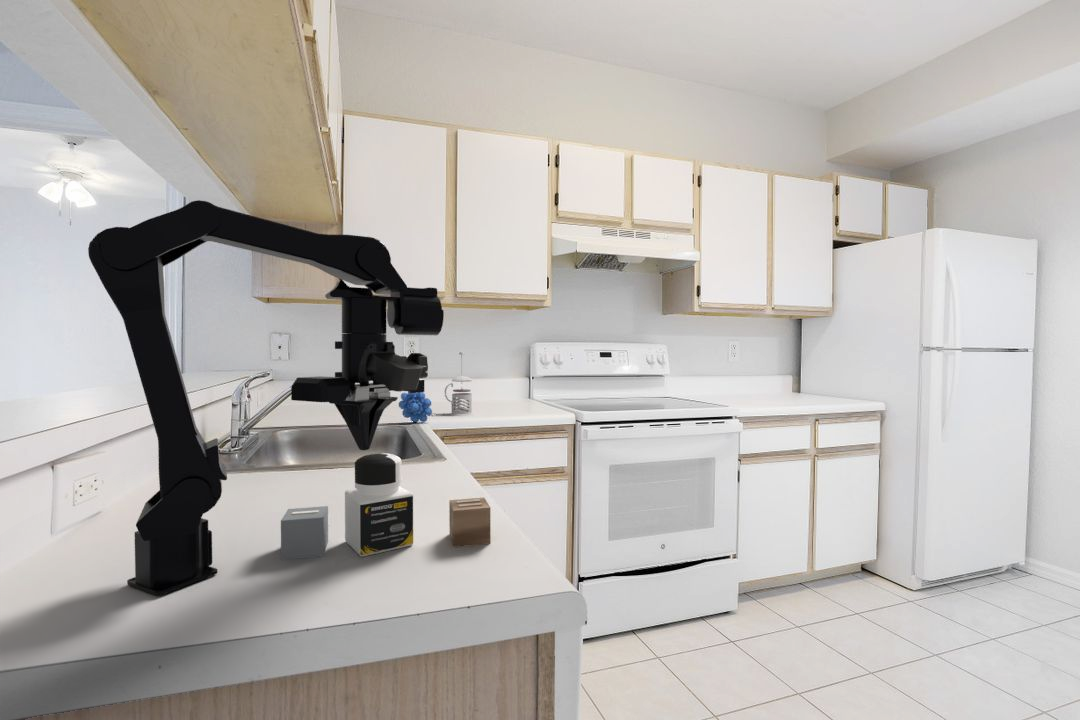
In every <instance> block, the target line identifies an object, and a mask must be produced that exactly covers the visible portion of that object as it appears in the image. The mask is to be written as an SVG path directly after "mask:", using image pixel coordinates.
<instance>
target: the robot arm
mask: <svg viewBox="0 0 1080 720" xmlns="http://www.w3.org/2000/svg"><path fill="white" fill-rule="evenodd" d="M207 242H213V243H217V244H222V245H226V246H228V247H229V246H231V247H235V248H238V249H242V250H247V251H251V252H255V253H259V254H263V255H268V256H272V257H275V258H281V259H283V260H289V261H292V262H297V263H302V264H306V265H310V266H312V267H314V268H317V269H319V270H321V271H322V272H325V273H327V274H328V275H330V276H332V277H334V278H337V279H339V281H337V282H336V284H335V285H334V287H333V288H332V289H331V290H329V292H327V293H325V295H324V296H325V298H326V299H327V300H339V301H341V341H337V340H336V341H335V340H334V349H335V350H341V371H336V372H334V376H320V375H318V376H305V377H303V376H302V377H301V376H299V377H296V379H295V380H294V381H293V383H292V385H291V387H290V389H291V393H290V394H291V396H290V397H291V401H299V402H311V403H329V404H332V405H334V406H335V407H336V409H337V411H338V412H339V414H340V415H341V417H342V418H343V420H344V422H345V424H346V426H347V428H348V430H349V431H350V433H351V435H352V438H353V440H354V441H355V444H356V445H357V448H358V449H359V450H360V451H368V450H370V448H371V445H372V443H373V439H374V436H375V434H376V430H377V428H378V424H379V423H380V419H381V417H382V416H383V413H384V411H385V409H387V407H389V406H390V405H391V404H392V403H393V402H397V400H398V398H399V397H397V396H391V391H392V392H400V393H401V392H408V391H409V393H419V392H423V393H425V379H426V378H427V377H428V376H429V374H428V371H429V365H428V356H427V355H425V354H423V353H421V352H411V353H410V354H409V355H408V356H405V355H403V356H402V355H401V356H400V355H399V354H396V349H395V348H396V347H395V344H394V342H393V341H387V324H388V327H389V328H392V329H394V332H395V334H397V335H399V336H401V335H403V336H404V335H405V336H438V335H439V334H440V333H441V331H442V329H443V325H444V313H445V312H444V309H443V307H442V306H443V305H442V302H441V299H440V298H439V296H438V288H436V287H424V288H421V287H408V286H407V284H406V283H405V281H404V280H403V278H402V277H401V275H400V274H399V272H398V271H397V270H396V268H395V267H394V265H393V263H392V257H391V253H390V251H389V249H388V248H387V246H386V245H385V243H384V242H382V241H381V240H380V239H377V238H375V237H371V236H363V235H362V236H361V235H355V234H330V233H329V234H327V233H317V232H314V231H310V230H306V229H303V228H298V227H295V226H292V225H289V224H284V223H280V222H276V221H273V220H269V219H265V218H262V217H258V216H254V215H251V214H246V213H243V212H240V211H235V210H232V209H229V208H224V207H221V206H218V205H215V204H213V203H212V202H209V201H206V200H200V199H199V200H193V201H189V202H188V203H186V204H185V205H184V206H181V207H179V208H177V209H175V210H172V211H169V212H166V213H163V214H161V215H157V216H154V217H151V218H148V219H146V220H144V221H142V222H139V223H137V224H136V225H133V226H131V227H127V226H126V227H124V226H115V227H109V228H105V229H103V230H102V231H99V232H98V233H97V234H96V235H95V236H93V238H92V240H91V241H90V242H89V244H88V248H87V251H88V258H89V260H90V264H91V265H92V266H93V268H94V270H95V272H96V274H97V276H98V277H99V280H100V282H101V284H102V286H103V287H104V289H105V291H106V293H107V294H108V296H109V297H110V300H112V302H113V304H114V306H115V308H116V309H117V311H118V313H119V314H120V316H121V318H122V320H123V323H124V327H125V331H126V334H127V336H128V337H127V338H128V341H129V343H130V348H131V351H132V355H133V357H134V361H135V365H136V369H137V372H138V375H139V379H140V383H141V386H142V388H143V392H144V393H143V394H144V396H145V400H146V403H147V406H148V410H149V413H150V417H151V421H152V424H153V426H154V431H155V434H156V436H157V445H158V447H157V448H158V480H159V482H158V483H159V490H158V491H156V493H155V494H153V495H152V496H151V497H150V498H149V499H148V500H147V501H146V502H145V503H144V506H143V507H142V511H141V513H140V515H139V516H138V520H137V521H136V524H135V527H136V528H137V531H134V573H135V574H134V575H135V577H131V578H128V580H126V583H127V586H130V587H132V588H136V589H139V590H140V591H144V592H146V593H149V594H152V595H155V596H162V595H166V594H169V593H171V592H174V591H176V590H179V589H181V588H183V587H186V586H189V585H192V584H194V583H197V582H199V581H201V580H204V579H206V578H210V577H212V576H214V575H217V574H218V568H216V567H213V566H211V565H213V531H212V530H210V529H209V520H208V519H206V518H203V515H204V514H207V513H208V512H209V511H210V510H212V509H213V508H215V506H217V504H218V502H219V501H220V498H222V493H223V486H222V485H223V484H222V483H223V482H222V481H227V480H228V476H227V475H228V473H227V466H226V465H225V464H224V463H223V462H222V460H221V456H220V453H219V452H220V451H219V450H220V449H219V439H218V438H213V439H210V440H209V441H207V442H206V441H205V439H204V438H203V436H202V434H201V432H200V431H199V429H198V427H197V425H196V421H195V417H194V414H193V411H192V406H191V403H190V399H189V396H188V393H187V388H186V385H185V382H184V379H183V375H182V372H181V367H180V364H179V360H178V356H177V353H176V349H175V346H174V343H173V340H172V334H171V332H170V328H169V324H168V320H167V317H166V311H165V309H166V308H165V281H164V280H165V279H164V267H166V266H167V265H169V264H171V263H173V262H175V261H177V260H179V259H180V258H182V257H183V256H185V255H186V254H188V253H190V252H192V251H194V249H196V248H198V247H199V246H202V245H203V244H205V243H207ZM346 282H347V283H348V284H352V285H354V286H361V287H354V286H353V287H352V286H349V285H347V284H346ZM362 286H364V287H362ZM375 294H376V295H375ZM389 295H390V296H389Z"/></svg>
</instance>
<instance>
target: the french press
mask: <svg viewBox="0 0 1080 720" xmlns="http://www.w3.org/2000/svg"><path fill="white" fill-rule="evenodd" d="M458 355H461V362H460V363H461V364H460V365H461V366H460V367H461V369H460V370H461V371H460V373H461V374H463V355H465V353H464V351H460V352H459V354H458ZM472 381H473V379H471V378H470V377H468V376H465V375H459V376H456V377H454V378H452V379H451V382H452V383H449V384H448V385H447V386H445V388H444V397H445V400H447V401H448V402H450V403H451V412H450V414H449V416H452V417H453V416H454V417H469V416H474V415H475V413H474V412H473V411H472V409H473V405H472V398H473V397H472V393H470V392H471V389H467V388H466V389H465V388H461V389H460V388H459V389H458V388H457V389H452V391H453V392H454V393H452V394H451V400H450V399H449V397H448V396H447V389H448V387H449V386H451V388H453V387H454V384H453V382H454V383H455V382H456V383H457V382H460V383H463V382H465V383H467V382H468V383H469V382H472ZM468 392H469V393H468Z"/></svg>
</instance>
